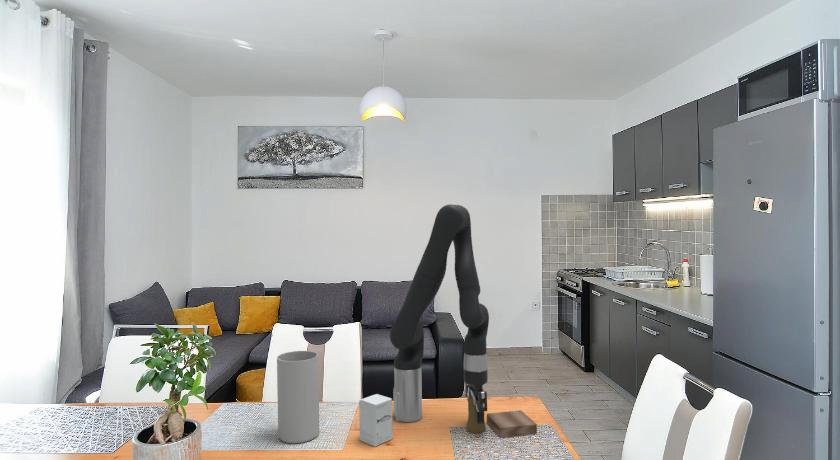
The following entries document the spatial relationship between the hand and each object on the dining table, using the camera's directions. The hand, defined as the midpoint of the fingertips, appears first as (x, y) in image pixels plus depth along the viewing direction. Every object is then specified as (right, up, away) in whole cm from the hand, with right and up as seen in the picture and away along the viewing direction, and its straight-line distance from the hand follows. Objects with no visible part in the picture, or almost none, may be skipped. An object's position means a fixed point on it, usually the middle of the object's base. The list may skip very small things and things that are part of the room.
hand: (476, 417), depth 162 cm
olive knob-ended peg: (0, -4, 0) cm, 4 cm away
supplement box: (-31, -4, -7) cm, 32 cm away
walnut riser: (+11, -4, 0) cm, 12 cm away
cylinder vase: (-56, -5, -3) cm, 56 cm away
